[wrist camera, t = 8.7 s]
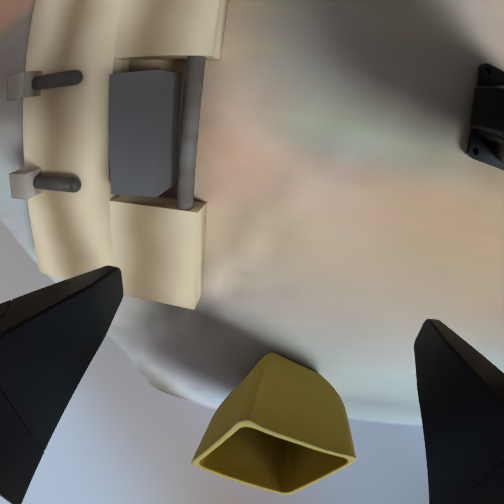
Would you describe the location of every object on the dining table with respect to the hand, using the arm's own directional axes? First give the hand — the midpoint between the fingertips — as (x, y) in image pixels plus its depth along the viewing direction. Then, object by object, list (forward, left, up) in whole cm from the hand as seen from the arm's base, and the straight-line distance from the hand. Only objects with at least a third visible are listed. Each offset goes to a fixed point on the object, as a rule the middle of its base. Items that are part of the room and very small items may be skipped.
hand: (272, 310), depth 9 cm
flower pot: (-2, +16, -12) cm, 20 cm away
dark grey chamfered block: (+9, -3, -12) cm, 15 cm away
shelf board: (+12, -3, -12) cm, 17 cm away
